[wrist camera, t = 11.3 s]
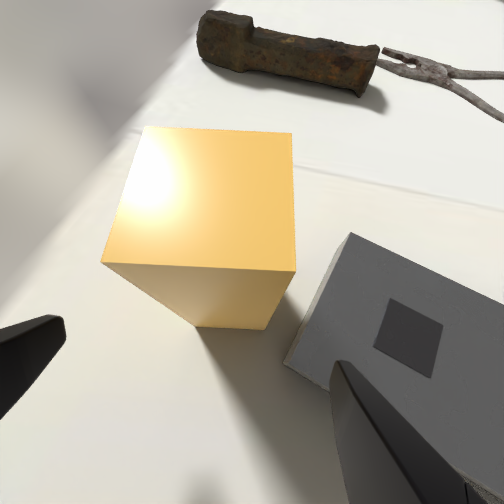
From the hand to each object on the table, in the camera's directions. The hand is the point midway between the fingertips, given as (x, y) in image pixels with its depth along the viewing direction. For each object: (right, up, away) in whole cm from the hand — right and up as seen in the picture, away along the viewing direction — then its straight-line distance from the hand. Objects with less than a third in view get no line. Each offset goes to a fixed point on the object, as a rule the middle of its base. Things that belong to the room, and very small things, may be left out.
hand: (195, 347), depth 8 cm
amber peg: (+1, 0, +9) cm, 9 cm away
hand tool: (+5, +22, +19) cm, 30 cm away
